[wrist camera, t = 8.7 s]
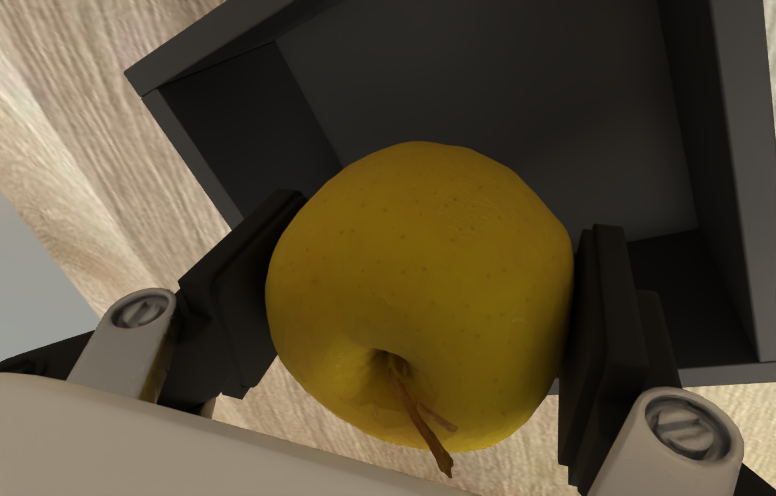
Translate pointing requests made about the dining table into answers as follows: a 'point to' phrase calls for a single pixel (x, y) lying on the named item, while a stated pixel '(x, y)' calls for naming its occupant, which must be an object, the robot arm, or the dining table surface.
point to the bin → (514, 128)
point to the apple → (424, 298)
